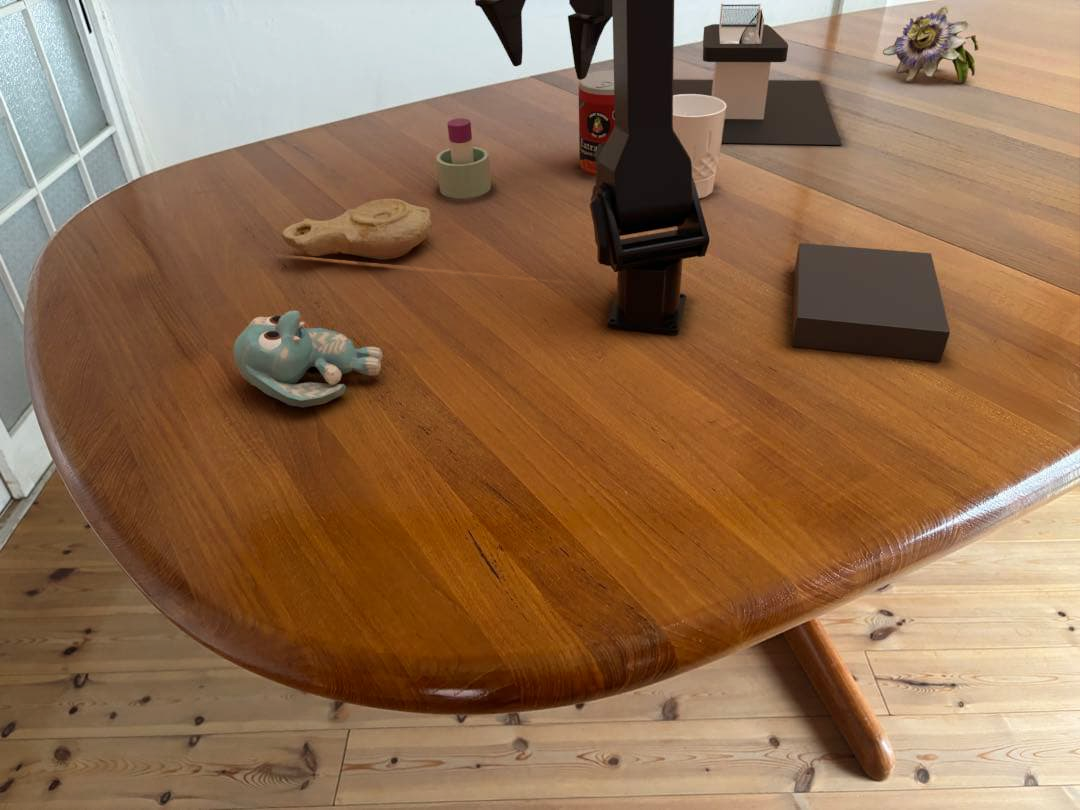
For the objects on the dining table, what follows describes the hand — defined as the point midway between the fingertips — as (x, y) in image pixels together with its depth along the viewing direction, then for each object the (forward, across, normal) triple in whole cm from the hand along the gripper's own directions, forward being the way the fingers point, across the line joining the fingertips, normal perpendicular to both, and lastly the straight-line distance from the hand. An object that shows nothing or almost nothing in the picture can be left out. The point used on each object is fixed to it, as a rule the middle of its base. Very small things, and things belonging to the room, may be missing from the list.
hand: (548, 71), depth 91 cm
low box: (+14, -41, +5) cm, 43 cm away
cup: (+14, +8, +6) cm, 17 cm away
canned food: (+14, -2, -10) cm, 17 cm away
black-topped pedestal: (+14, -4, -38) cm, 41 cm away
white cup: (+14, -13, -9) cm, 21 cm away
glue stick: (+13, +8, +6) cm, 17 cm away
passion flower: (+14, -21, -68) cm, 73 cm away
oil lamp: (+14, +5, +25) cm, 29 cm away
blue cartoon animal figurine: (+14, -8, +42) cm, 45 cm away
